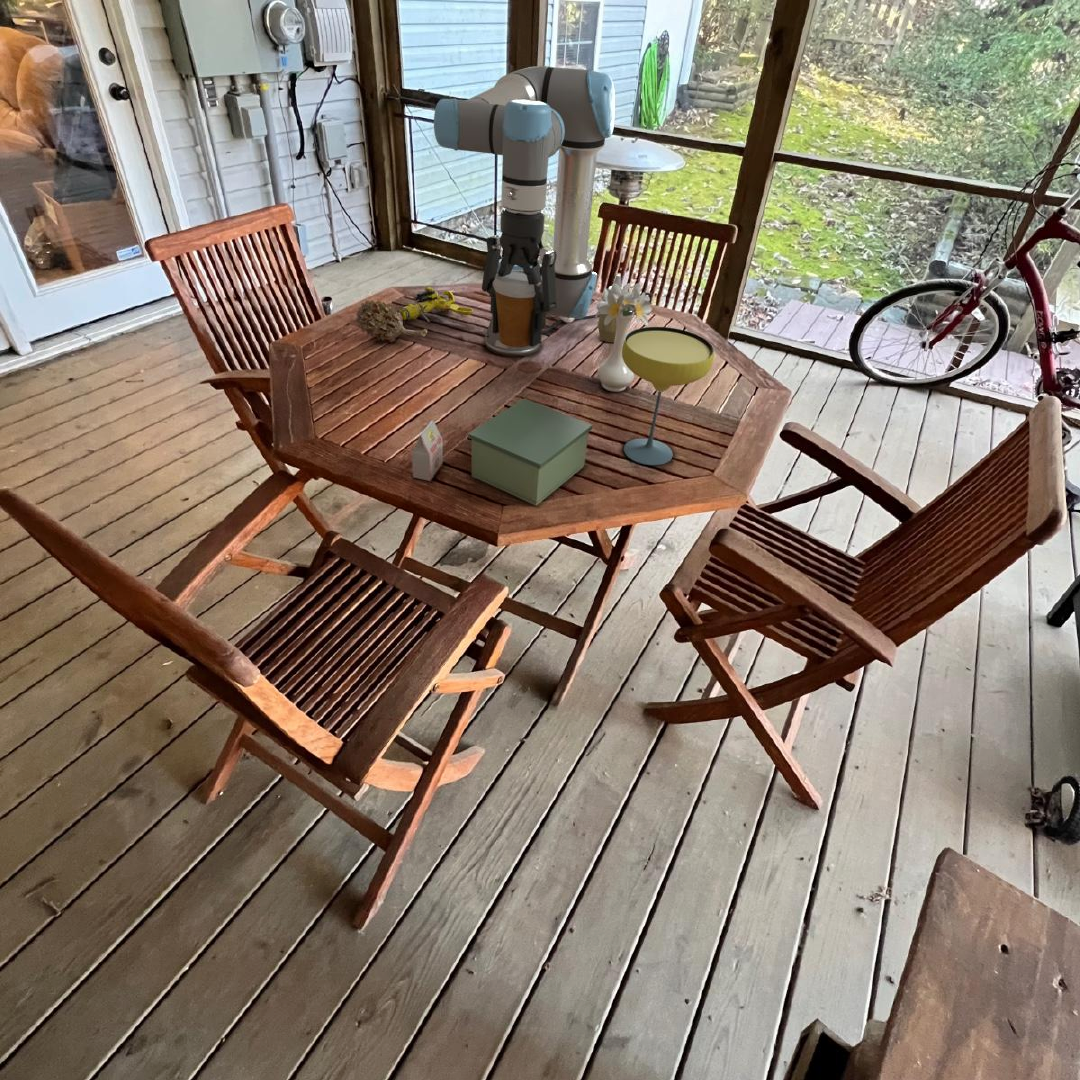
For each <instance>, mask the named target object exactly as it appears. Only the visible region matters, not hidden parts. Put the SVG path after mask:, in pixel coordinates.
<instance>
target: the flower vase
mask: <svg viewBox="0 0 1080 1080" xmlns="http://www.w3.org/2000/svg"><path fill="white" fill-rule="evenodd" d="M631 285H632V284H631V283H630V282H628V283H626V284H624V285H623V288H622V290H620V288H619V286H618V285H617V284H614V283H613V284H612V285H611V286H612V287H611V286H610V287H611V291H612V293H611V292H610V293H608V289H607V287H604V289H603V294H602V296H601V300H600V301H598V302H597V304H596V310H597V312H596V314H595V315H596V316H595V318H593V319H597V318H598V317H597V316H598V315H600V314H610V315H607V316H606V318H605V320H604V325H608V324H609V323H610V321H611V320H612V319H613V318H614V317H615V318H616V334H615V339H614V342H613V345H612V350H611V352H610V354H609V356H608V358H607V359H606V360H604V361H602V363H601V364H600V365H599V367H598V368H597V371H596V377H597V378H598V380H599V381H600V383H601V386H602V388H603V389H605V390H606V391H608V392H614V393H615V392H616V393H618V392H623V391H624V390H626V388H627V386H629V385H630V384H631V383H632V382H633V381H634V379H635V374H634V373H633V372H632V371H631V370H630V369H629V368H628V367H627V366H626V364H625V363H624V361H623V358H622V346H623V342H624V339H625V337H626V336H627V335H628V334H629V330H630V325H631V323H632V320H633V318H636V323H637V324H640V323H643V325H644V326H645V327H649V319H648V318H647V316H650V313H651V312H652V310H653V308H652V307H653V306H652V305H651V302H650V301H651V297H649V296H648V295H646V296H645V293H646V292H642V293H641V290H642V286H641V284H640V283H635V284H634V286H633V287H632V290H631V291H629V289H630V287H631ZM603 300H604V301H603ZM621 306H622V307H621ZM620 308H621V310H620Z"/></svg>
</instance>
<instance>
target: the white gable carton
mask: <svg viewBox="0 0 1080 1080" xmlns="http://www.w3.org/2000/svg"><path fill="white" fill-rule="evenodd" d="M443 451H444V449H443V437H442V435H441V433H440V431H439V429H438V426H437V424H436V422H435V419H432V420H431V421H429V423H428V424H427V425H426V427H425V428H424V429H423V431H422V432H421V433H420V434H419V435H418V439H417V441H416V443H415V445H414V447H413V449H412V450H411V462H412V463H411V464H412V478H416V479H420V480H425V481H429V482H431V481H432V480H433V478H434V477H435V475H436V474H437V473H438V471H439V470H440V468H441V467H442V466H443V464H444V456H443V454H444V453H443Z"/></svg>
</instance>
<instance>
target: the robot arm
mask: <svg viewBox="0 0 1080 1080" xmlns="http://www.w3.org/2000/svg"><path fill="white" fill-rule="evenodd" d="M615 101H616V99H615V87H614V83H613V80H612V78H611V76H610V75H609V74H608V73H605V72H599V71H596V70H594V71H593V70H592V69H582V68H581V69H580V68H570V67H569V68H568V67H556V66H554V67H553V66H549V65H537V66H529V67H526V68H522V69H518V70H515V71H511V72H509V73H507V74H505V75H503V76H501V77H500V78H499V79H498V80H497V81H496V82H495V84H494V86H493V87H491V88H489V89H487V90H485V91H483V92H481V93H478V94H476V95H474V96H471V97H470V98H468V99H466V100H465V99H457V98H441V99H440V100H438V102H437V104H436V105H435V109H434V113H433V114H434V115H433V132H434V139H435V140H436V142H437V144H438V145H439V146H440V147H442V148H444V149H448V150H449V149H451V150H454V151H455V152H457V151H464V152H474V153H482V154H492V155H497V156H502V163H501V165H502V167H501V168H502V169H501V171H502V172H501V173H502V176H501V199H500V200H501V201H500V204H501V206H502V208H501V210H500V221H499V222H500V225H499V229H500V232H501V235H500V236H499V235H498V234H495V235H492V236H488V237H487V238H486V239H485V240H486V241H485V242H486V249H487V252H486V258H485V265H484V271H483V277H482V284H481V291H483V292H484V293H487V294H488V295H489V297H490V313H491V318H490V321H489V324H488V327H487V330H486V333H485V336H484V346H485V348H486V349H487V350H488V351H490V352H492V353H493V354H496V355H500V356H502V357H503V356H505V357H511V358H512V357H513V358H516V357H517V358H518V357H519V358H520V357H527V356H531V355H534V354H536V353H537V352H538V351H539V350H540V349H541V343H542V335H545V334H549V332H551V331H552V330H553V329H554V328H556V326H558V325H560V324H564V323H565V324H566V322H564V321H563V320H562V319H560V320H557V321H555V322H553V323H552V324H550V326H549V327H548V328H547V329H545V327H546V325H547V315H548V316H549V315H554V316H561V317H567V318H575V319H574V320H573V321H572V322H578V321H583V320H590V319H594V318H595V316H596V314H589V315H588V313H589V311H590V307H591V304H592V300H593V296H594V292H595V289H596V285H597V281H598V274H597V273H596V272H594V271H592V270H593V264H592V262H591V261H590V259H588V249H589V239H590V228H591V227H590V226H591V217H592V209H593V207H592V206H593V197H594V186H595V176H596V164H597V155H598V152H599V151H601V149H602V148H604V147H605V141H606V139H609V138H611V137H612V135H613V132H614V127H615V126H614V125H615V124H614V121H615V113H616V112H615V109H616V108H615V107H616V105H615ZM556 153H558V157H557V158H558V159H557V161H558V162H557V172H556V173H557V176H556V192H555V206H554V207H555V208H554V225H553V240H552V241H553V243H552V251H549V250H548V249H546V248H544V244H543V241H542V238H543V236H544V232H545V216H546V214H545V212H544V209H546V204H547V188H548V187H547V186H548V170H549V159H550V158H551V157H553V156H554V155H556ZM501 251H502V252H503V255H502V257H501ZM539 258H540V259H539ZM512 270H523V271H524V274H526V276H527V279H528V283H529V285H530V284H533V285H534V289H535V292H536V294H535V296H534V297H533V302H534V306H535V310H534V311H532V312H531V328H530V344H529V346H527V347H521V348H515V347H509V346H506V345H504V344H502V343H501V342H500V336H499V325H498V315H497V304H496V294H495V289H494V286H493V281H494V280H495V276H496V274H499V276H501V277H503V276H506V275H509V274H510V273H511V271H512ZM541 277H542V279H541ZM540 282H541V284H540V285H539V286H537V285H536V284H538V283H540ZM539 291H541V292H539ZM644 293H645V296H648V297H649V298H653V296H652V293H650V292H648V291H647V292H644ZM599 316H600V315H598V316H597V317H596V318H599ZM596 318H595V319H596Z"/></svg>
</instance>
